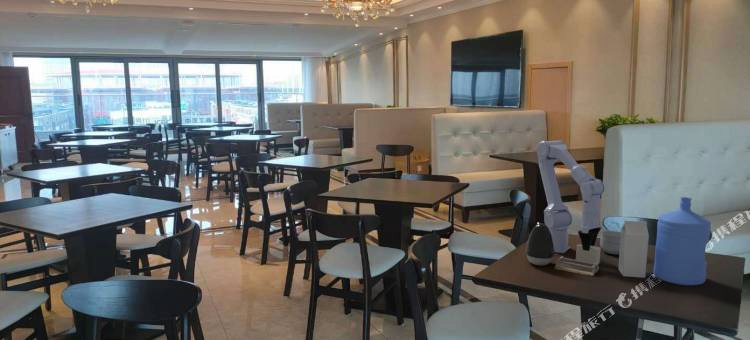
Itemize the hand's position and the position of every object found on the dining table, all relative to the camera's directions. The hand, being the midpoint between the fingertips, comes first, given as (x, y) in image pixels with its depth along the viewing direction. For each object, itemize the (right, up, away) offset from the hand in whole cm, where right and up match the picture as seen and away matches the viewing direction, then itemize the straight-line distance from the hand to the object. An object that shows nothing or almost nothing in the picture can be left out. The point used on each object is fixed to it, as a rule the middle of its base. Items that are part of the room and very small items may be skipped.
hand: (588, 247), depth 200 cm
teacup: (+15, -4, +11) cm, 19 cm away
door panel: (0, -5, +1) cm, 5 cm away
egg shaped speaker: (-19, -6, -1) cm, 20 cm away
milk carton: (+10, -8, -12) cm, 18 cm away
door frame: (-7, -7, -7) cm, 12 cm away
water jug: (+24, -8, -16) cm, 30 cm away
